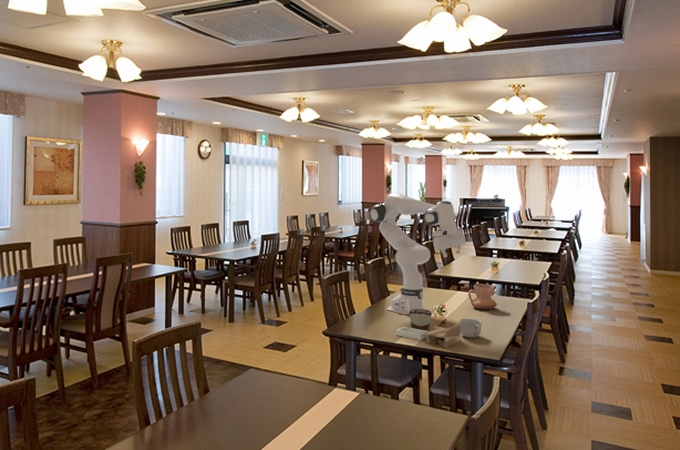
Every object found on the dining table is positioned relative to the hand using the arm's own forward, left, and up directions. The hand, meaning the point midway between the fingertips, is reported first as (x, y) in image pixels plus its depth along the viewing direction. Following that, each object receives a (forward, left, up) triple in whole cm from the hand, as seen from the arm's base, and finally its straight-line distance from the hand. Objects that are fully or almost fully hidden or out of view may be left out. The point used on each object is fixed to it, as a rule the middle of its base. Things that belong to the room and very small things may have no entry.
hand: (451, 255), depth 280 cm
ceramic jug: (+1, +43, -38) cm, 57 cm away
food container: (-7, -21, -37) cm, 44 cm away
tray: (-4, -35, -38) cm, 52 cm away
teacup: (+20, -19, -38) cm, 47 cm away
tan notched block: (+11, -35, -37) cm, 52 cm away
